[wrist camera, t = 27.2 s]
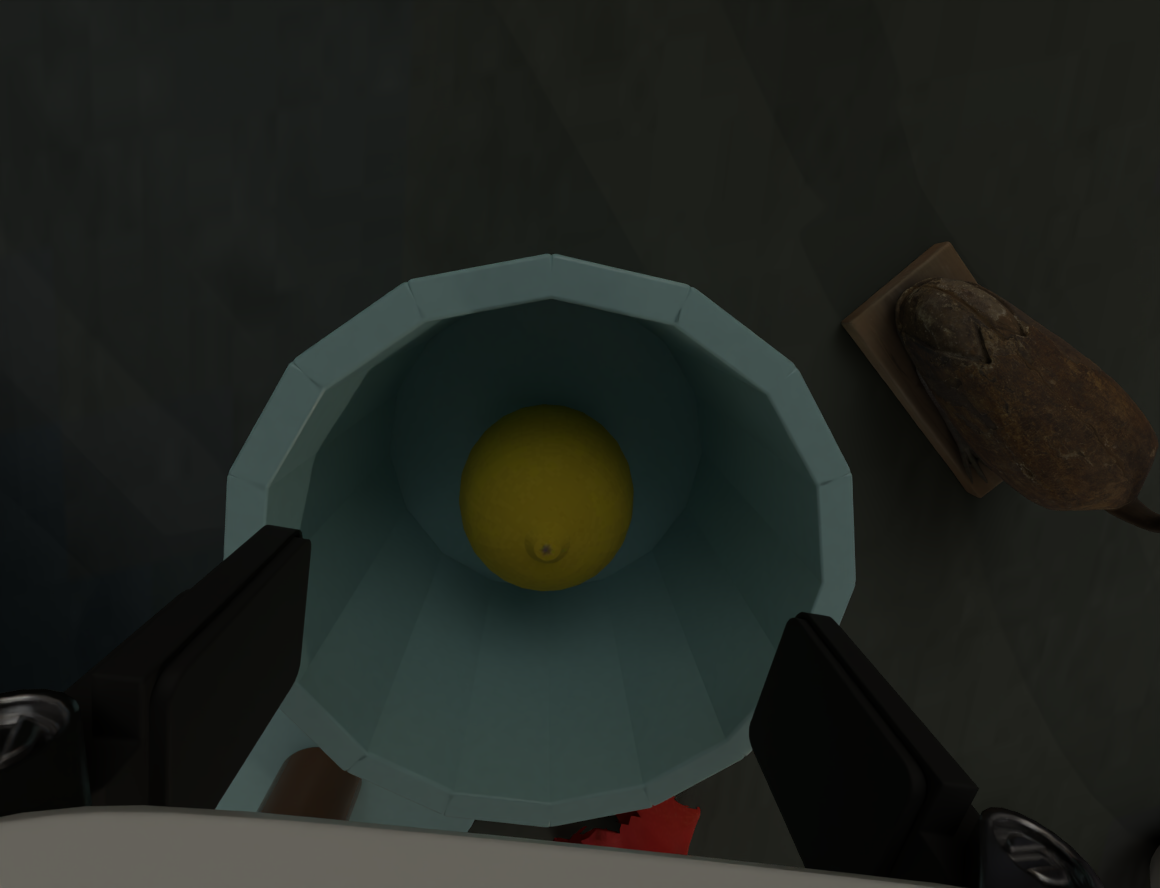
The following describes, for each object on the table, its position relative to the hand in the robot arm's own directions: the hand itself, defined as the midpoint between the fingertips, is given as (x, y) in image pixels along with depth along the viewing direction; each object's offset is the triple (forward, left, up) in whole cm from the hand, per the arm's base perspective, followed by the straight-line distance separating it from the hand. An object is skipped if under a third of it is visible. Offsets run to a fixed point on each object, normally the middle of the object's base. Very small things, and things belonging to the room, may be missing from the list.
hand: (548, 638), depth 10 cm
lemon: (0, 0, -12) cm, 12 cm away
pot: (0, 0, -12) cm, 12 cm away
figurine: (+5, -17, -12) cm, 22 cm away
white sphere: (-15, -40, -12) cm, 44 cm away
